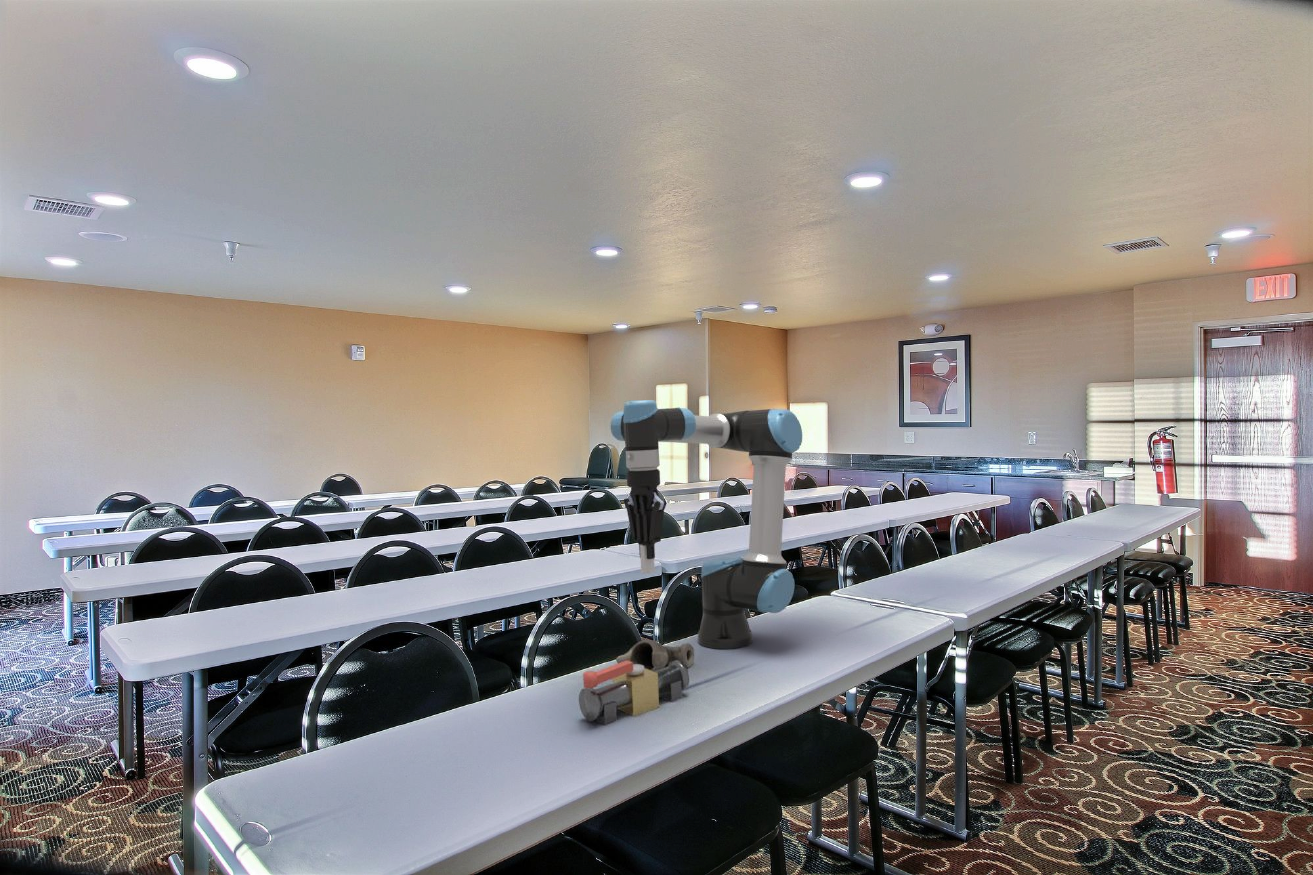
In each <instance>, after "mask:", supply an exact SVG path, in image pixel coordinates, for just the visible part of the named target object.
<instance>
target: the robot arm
mask: <svg viewBox="0 0 1313 875" xmlns="http://www.w3.org/2000/svg"><path fill="white" fill-rule="evenodd" d="M656 402H657V401H655V400H653V399H649V400H646V399H645V400H631V401H630V400H629V401H625V404H624V405H623V411H618V412H616V413H614V415H613V417H612V418H611V420H610V432H611V434H612V436H613V438H614V439H616V440H617V441H621V442H624V443H625V444H624V445H625V446H624V448H625V458H626V459H625V464H626V466H625V467H626V468H627V469H628V470H627V471H626V485H627V487H628V488H630V492H629V497H627V498H624V499H623V503H624V506H625V507H626V508H625V509H626V513H627V517H628V523H629V528H630V533H631V539H632V540H633V541H636V543H637V545H639V546H638V549H639V550H638V551H639V553H638V554H639V558H640V571H641V572H640V573H641V574H643V575H647V574H648V575H649V574H653V573H656V570H655V569H656V568H655V557H656V552H655V551H656V550H655V544H656V543H659V542H661V541H662V533H663V532H662V531H663V524H664V515H665V514H664V513H665V510H666V507H667V501H666V500H664V499H663V500H662V499H661V498H660V497H659V491H658V487H659V486H660V484H661V472H660V470H659V468H658V467H659V466H660V465H661V464H660V462H661V461H660V451H659V450H660V449H659V448H660V446H659V443H678V444H679V443H681V444H705V445H708V446H709V447H711V448H715V449H724V450H732V451H736V452H741V453H742V452H744V453H748V458H749V460H750V461H751V462H752V463H753V473H752V474H753V476H752V491H751V507H750V508H751V510H750V522H749V523H750V525H749V539H748V540H749V542H748V553H747V554H746V555H745V556H743V558H742V557H741V556H729V557H721V558H714V559H710V560H707V561H705V562H703V563H702V565H701V575H700V578H701V580H700V581H701V595H702V598H701V599H702V618H701V621H700V627H699V630H698V632H697V642H698V644H699V645H700V646H703V647H706V648H708V649H709V648H710V649H719V650H725V649H726V650H727V649H728V650H729V649H731V650H732V649H738V648H743V647H746V646H748V645H750V644H751V643H752V642H753V632H752V629H751V628H750V625H749V621H748V618H747V616H746V612H745V610H746V609H747V610H751V611H759V613H760V612H761V613H763V614H764V613H771V614H777V613H781V612H782V611H783V610H785V609H786V608H787V607H788V605H789V604H790V603H791V600H792V598H793V596H794V591H795V579H794V576H793V574H792V572H791V571H789V570H788V569H787V561H786V560H785V559H784V558H783V556H782V542H783V541H782V540H783V525H784V524H783V523H784V504H785V490H786V489H785V487H786V486H785V485H786V470H787V465H788V464H790V463H791V462H792V461H793V453H795V452H797V451H798V450H800V448H801V447H800V446H802V443H803V429H802V426H801V423H800V420H799V419H798V417H797V416H796V415H795V413H793V411H791V410H789V409H785V408H768V409H753V410H740V411H734V412H726V413H711V414H710V415H695V414H694V413H693V412H692V411H691V410H690V409H689V408H686V407H669V408H658V407H657V403H656Z"/></svg>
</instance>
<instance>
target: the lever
mask: <svg viewBox="0 0 1313 875" xmlns="http://www.w3.org/2000/svg"><path fill="white" fill-rule="evenodd" d="M626 673H627V674H629V675H639V674H642V673H644V666H643V665H639V664H633V662H630V661H624V662H621V663H616V664H614V665H611V666H608V667H605V668H603V669H601V670H600V669H599V670H597V671H594V670H588V671H587V670H586V671H584V672H583V673H582V677H583V679H582V680H583V688H593V689H596V687H598V685H600V684H603V683H605V682H607V681H611V680H613V678H615V677H618V676H621V675H623V674H626Z"/></svg>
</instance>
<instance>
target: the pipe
mask: <svg viewBox="0 0 1313 875" xmlns="http://www.w3.org/2000/svg"><path fill="white" fill-rule="evenodd" d="M676 660H678V661H681V662H682V663H683V664H684V665H685V667H686V668H687V669H689V668H691V667H692V665H693V664H694V661H695V649H694V647H693V645H692V644H691V643H689V642H686V643H683V644H681V645H680V646H669V645H663V644H661V642H658V641H656V640H652V639H643V640H640V641H638V642H637V643H635V644H634V645H633V646H632V647H631V648H630V649H629V650H628V651H627V652H626V653H624V654H621V655H619V656H617V657H616V660H615V661H616V664H618V663H621V662H624V661H630V662H633V664H639V665H643V666H644V668H645V669H648V670H651V671H656V670H659V669H662V668H665V667H667V666H668V664H669V663H670V662H673V661H676ZM666 665H667V666H666Z"/></svg>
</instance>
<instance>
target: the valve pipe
mask: <svg viewBox="0 0 1313 875" xmlns="http://www.w3.org/2000/svg"><path fill="white" fill-rule="evenodd" d="M689 684H690V674H689V670H688V668H686V667H685V665H684V664H683V663H682V662H681V661H678V660H676V661H673V662H670V663H669V664H668V665H667V666H665V667H664V668H662V669H659V670H656V671H651V670H648V669H645V668H644V673H642V674H639V675H629V674H627V673H626V674H623V675H621V676H618V677H615V678H613V679H612V683H611V684H608V685H604V686H601V687H598V688H585V687H583V688H582V689H581V690H580V692H579V695H578V705H579V709H580V712H581V714H582V716H583V717H584V718H585V720H587V721H589V722H593V721H596V722H598V723H600V724H602V725H604V726H606V725H609V724H612V723H614V722H617V710H618V711H619V710H620V712H623V713H625V714H628V715H630V716H632V717H636V716H638V715H641V714H643V713H647V712H650V711H652V710H655V709H658V708H660V699H659V698H661V699H664V700H665V701H666V700H667V701H669V702H675V701H679V700H682V699H683V693H682V691H684V690H686V689H688V686H689Z"/></svg>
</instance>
